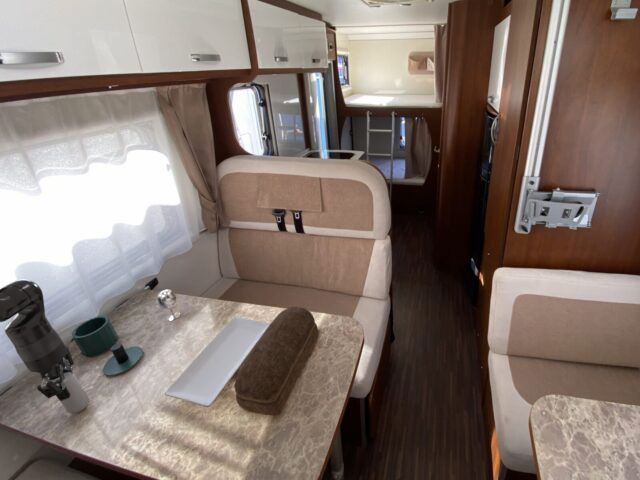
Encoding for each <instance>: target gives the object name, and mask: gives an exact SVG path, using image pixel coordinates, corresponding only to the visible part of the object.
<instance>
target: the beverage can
mask: <svg viewBox="0 0 640 480" xmlns="http://www.w3.org/2000/svg"><path fill="white" fill-rule="evenodd" d="M72 372H73V371H72ZM72 372H66V373H64V376H65V379H64V381H63V382H64V385H65V387H66V388H67V390H68V391H69V393H70V394H71V395H70V397H69V398H68V399H65V400H63V401H59V403H61V405H62V406H63V408H64V410H65V411H66V413H68V414H77V413H79V412H81V411H83V410H84V409H86V407H87V406H88V405H89V402H90V397H89V396H88V394H87V392H86V391H85V389H84V388H83V386H82V383H80V381H79V380H78V378H77V376H76V374H75V373H74V372H73V373H74V374H73V373H72ZM58 379H60V378H57V379H54V380H52V381H55V380H58ZM56 385H57V386H58V387H59V384H56Z"/></svg>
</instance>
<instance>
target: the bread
mask: <svg viewBox="0 0 640 480" xmlns="http://www.w3.org/2000/svg"><path fill="white" fill-rule="evenodd" d="M318 328H319V327H318V325H317V323H316V320H315V317H314V315H313V314H312V313H311V311H310V310H309V309H307V308H305V307H299V306H290V307H287V308H285V309H283V310H281V311H280V313H278V314H277V315H276V317H274V319H273V320H272V321H271V322H270V325H269V327H268V328H267V329H266V331H265V332H264V334H263V335H262V337H261V338H260V340H259V341H258V343H257V344H256V345H255V346H254V348H253V350H252V351H251V352H250V354H249V355H248V356H247V358H246V359H245V361H244V362H243V363H242V365H241V366H240V368H239V371H238V373H237V376H236V377H235V381H234V385H233V387H234V392H235V400H236V402H237V405H238V406H239V407H240V408H241V409H243V410H245V411H247V412H250V413H255V414H260V415H264V416H277V415H280V414H281V413H282V411H283V408H284V406H285V405H286V403H287V401H288V399H289V397H290V395H291V394H292V392H293V390H294V388H295V386H296V383H297V381H298V380H299V377H300V375H301V373H302V371H303V369H304V367H305V365H306V364H307V361H308V359H309V358H310V356H311V353H312V351H313V349H314V346H315V344H316V342H317V340H318V336H319V329H318Z"/></svg>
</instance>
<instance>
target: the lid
mask: <svg viewBox="0 0 640 480" xmlns="http://www.w3.org/2000/svg"><path fill="white" fill-rule="evenodd" d="M110 351H111V354H112V356H111V357H110V358H108V360H107V361H106V362H105V364H103V368H102V373H103V374H104V375H105V376H108V377H113V376H118V375H120V374H123V373H125V372H128V371H129V370H130V369H132V368H133V367H134V366H135V365H137V364H138V363H139V362H140V360H141V359H142V357H143V355H144V350H143V348H142V347H140V346H129V347H127V348H125V347H124V346H123V344H122V342H116V344H115V345H113V346H112V347H111V348H110Z"/></svg>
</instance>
